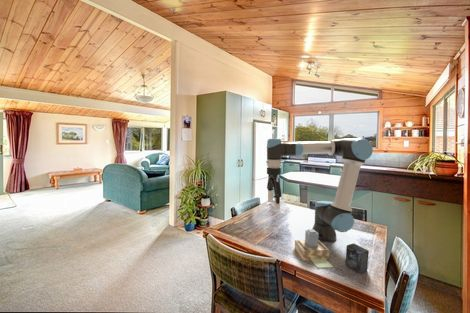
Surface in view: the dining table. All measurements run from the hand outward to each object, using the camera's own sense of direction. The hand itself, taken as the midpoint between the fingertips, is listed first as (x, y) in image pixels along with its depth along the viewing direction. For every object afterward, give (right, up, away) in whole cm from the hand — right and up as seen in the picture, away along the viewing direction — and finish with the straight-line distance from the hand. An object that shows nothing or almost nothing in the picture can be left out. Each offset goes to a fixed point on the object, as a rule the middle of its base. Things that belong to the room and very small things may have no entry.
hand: (273, 205), depth 120 cm
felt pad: (+23, -27, -10) cm, 37 cm away
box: (+38, -28, -13) cm, 49 cm away
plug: (+20, -27, 0) cm, 33 cm away
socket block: (+20, -26, 0) cm, 33 cm away
